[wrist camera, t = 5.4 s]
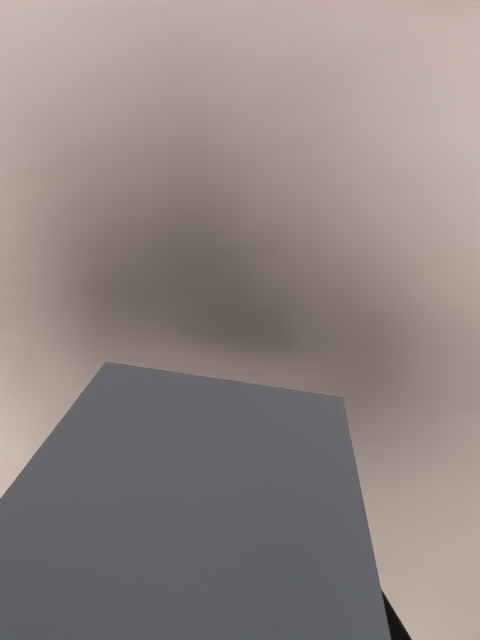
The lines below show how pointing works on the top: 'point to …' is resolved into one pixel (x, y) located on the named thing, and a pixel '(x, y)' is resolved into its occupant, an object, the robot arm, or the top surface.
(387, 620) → the robot arm
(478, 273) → the top surface
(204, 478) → the slate block
